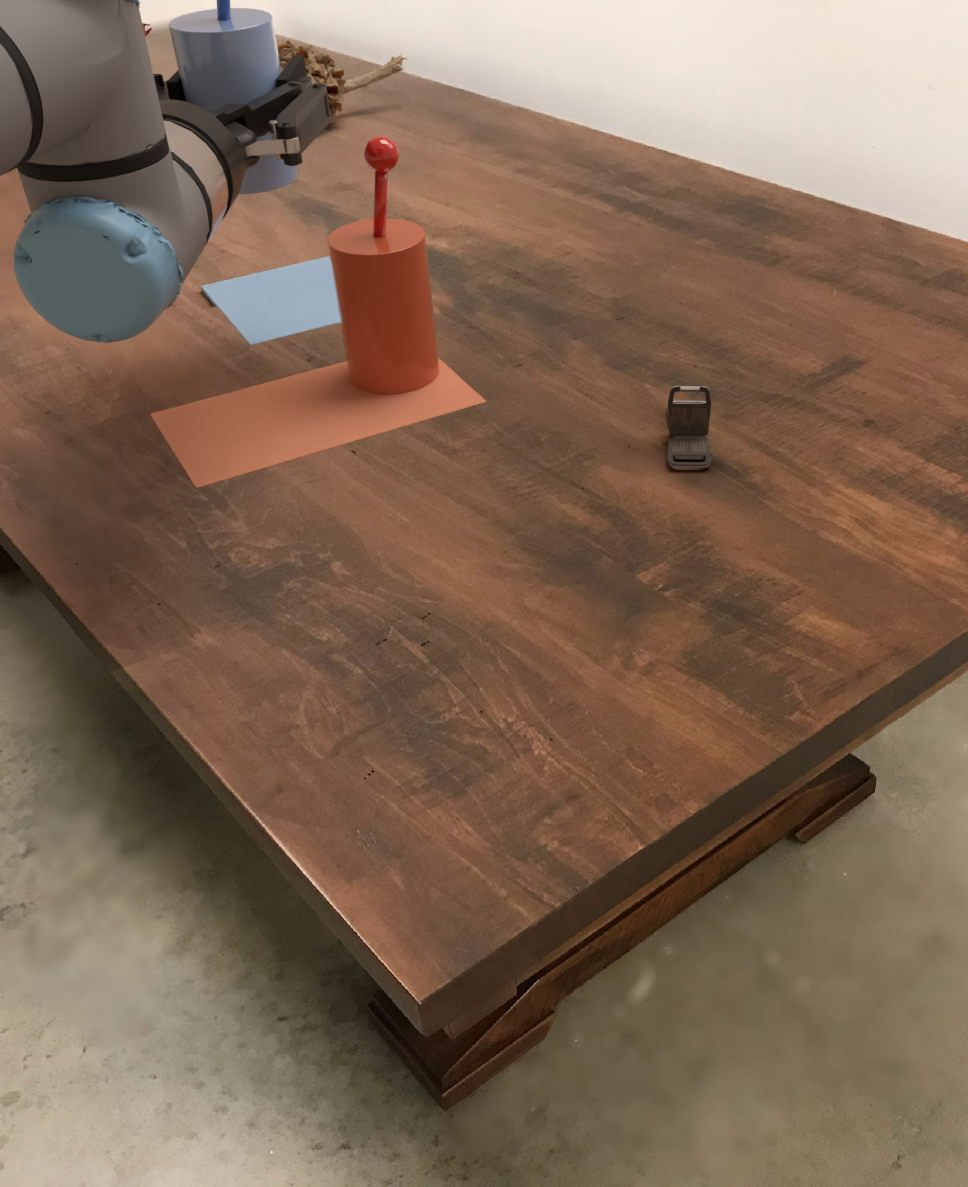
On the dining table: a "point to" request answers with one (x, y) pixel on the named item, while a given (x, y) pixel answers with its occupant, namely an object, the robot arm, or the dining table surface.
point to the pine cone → (333, 72)
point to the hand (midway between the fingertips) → (250, 75)
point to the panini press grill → (689, 429)
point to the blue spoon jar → (231, 72)
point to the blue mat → (278, 300)
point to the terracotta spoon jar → (384, 292)
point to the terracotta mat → (296, 420)
